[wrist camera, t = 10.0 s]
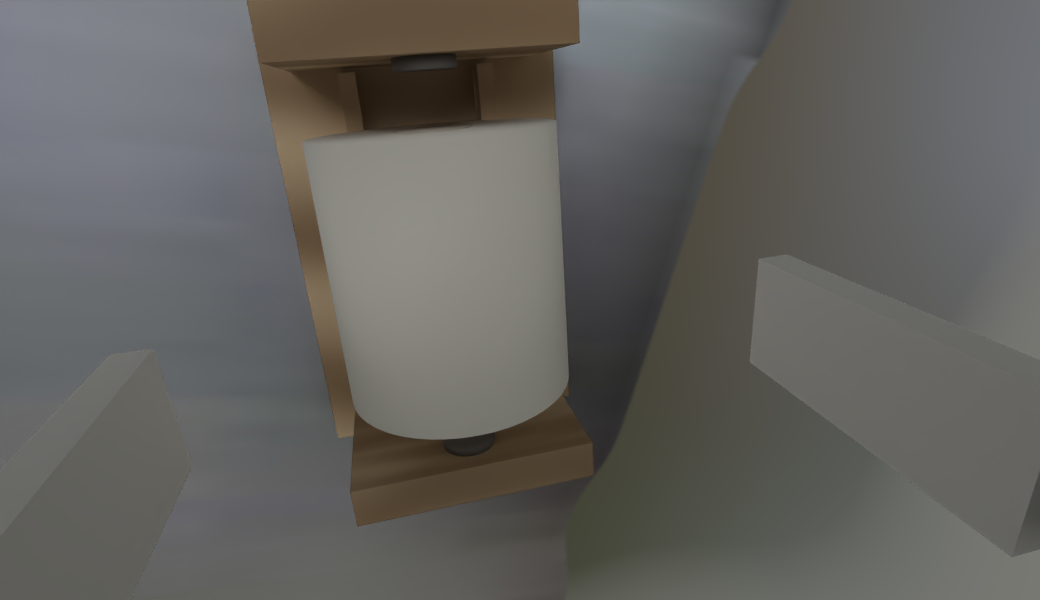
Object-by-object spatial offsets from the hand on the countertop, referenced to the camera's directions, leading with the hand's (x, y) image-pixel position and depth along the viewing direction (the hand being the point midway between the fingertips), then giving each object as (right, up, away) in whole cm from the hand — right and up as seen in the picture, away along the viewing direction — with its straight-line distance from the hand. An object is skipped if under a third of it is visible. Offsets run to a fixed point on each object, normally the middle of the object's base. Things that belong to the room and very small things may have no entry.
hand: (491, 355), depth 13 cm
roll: (-3, +4, +11) cm, 12 cm away
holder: (-3, +4, +12) cm, 13 cm away
